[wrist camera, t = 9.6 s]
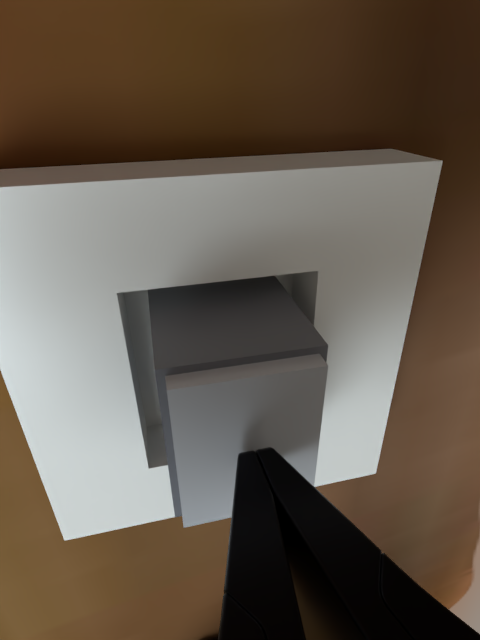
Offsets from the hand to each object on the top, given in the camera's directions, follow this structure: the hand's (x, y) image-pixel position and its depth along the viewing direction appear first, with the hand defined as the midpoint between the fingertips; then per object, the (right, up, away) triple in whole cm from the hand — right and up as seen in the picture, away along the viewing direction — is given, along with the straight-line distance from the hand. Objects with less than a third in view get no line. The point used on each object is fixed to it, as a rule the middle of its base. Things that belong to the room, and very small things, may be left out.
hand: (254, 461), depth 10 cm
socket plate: (-1, +3, +5) cm, 6 cm away
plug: (-1, +3, +4) cm, 5 cm away
